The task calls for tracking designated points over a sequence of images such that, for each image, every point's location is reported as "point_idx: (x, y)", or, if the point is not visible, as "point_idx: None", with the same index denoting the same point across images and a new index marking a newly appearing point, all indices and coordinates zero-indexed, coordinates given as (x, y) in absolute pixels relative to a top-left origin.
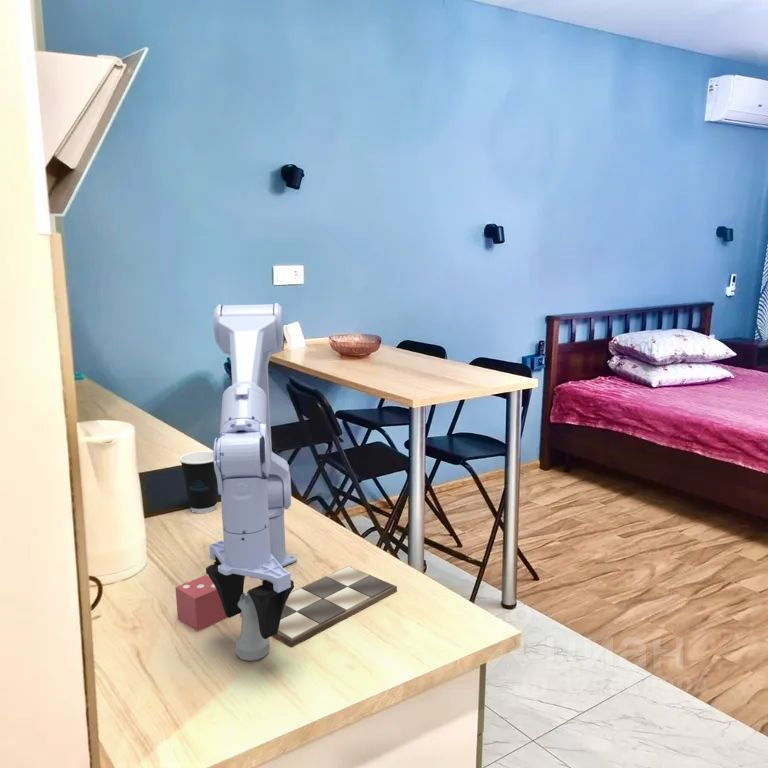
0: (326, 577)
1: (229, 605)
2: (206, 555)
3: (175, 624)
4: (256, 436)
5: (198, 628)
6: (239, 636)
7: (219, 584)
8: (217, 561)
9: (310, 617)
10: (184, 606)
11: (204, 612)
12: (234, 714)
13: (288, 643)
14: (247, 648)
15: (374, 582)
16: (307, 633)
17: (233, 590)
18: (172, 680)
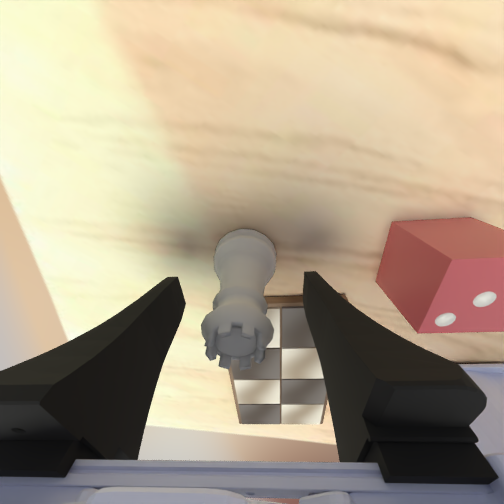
0: (321, 403)
1: (312, 295)
2: None
3: (460, 203)
4: None
5: (394, 226)
6: (257, 255)
7: (347, 340)
8: (460, 453)
9: None
10: (474, 236)
11: (408, 255)
12: (80, 121)
13: None
14: (223, 246)
15: (263, 419)
16: None
17: (323, 339)
18: (278, 72)
